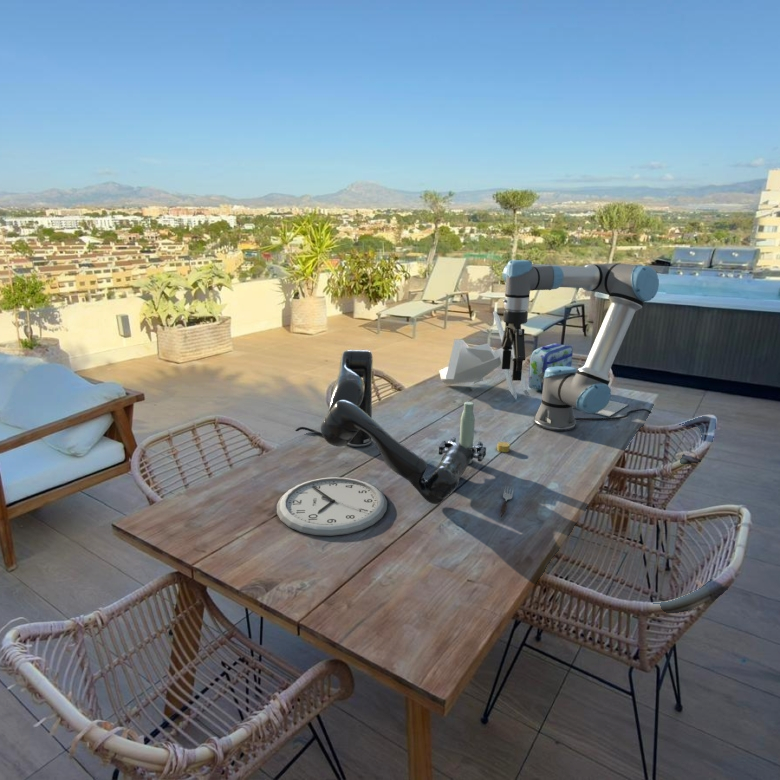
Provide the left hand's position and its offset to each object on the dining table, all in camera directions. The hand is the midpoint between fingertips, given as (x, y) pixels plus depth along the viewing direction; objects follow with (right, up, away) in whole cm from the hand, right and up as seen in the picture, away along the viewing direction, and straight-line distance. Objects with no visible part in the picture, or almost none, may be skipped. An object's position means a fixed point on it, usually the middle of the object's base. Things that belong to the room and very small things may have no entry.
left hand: (467, 442), depth 171 cm
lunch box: (+51, +18, +81) cm, 98 cm away
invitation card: (+66, +10, +55) cm, 87 cm away
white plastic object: (+16, +16, +72) cm, 76 cm away
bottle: (-1, -6, 0) cm, 6 cm away
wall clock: (-41, -14, -28) cm, 52 cm away
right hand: (+15, +22, +2) cm, 27 cm away
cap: (+14, -2, +9) cm, 17 cm away
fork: (+7, -15, -26) cm, 31 cm away
